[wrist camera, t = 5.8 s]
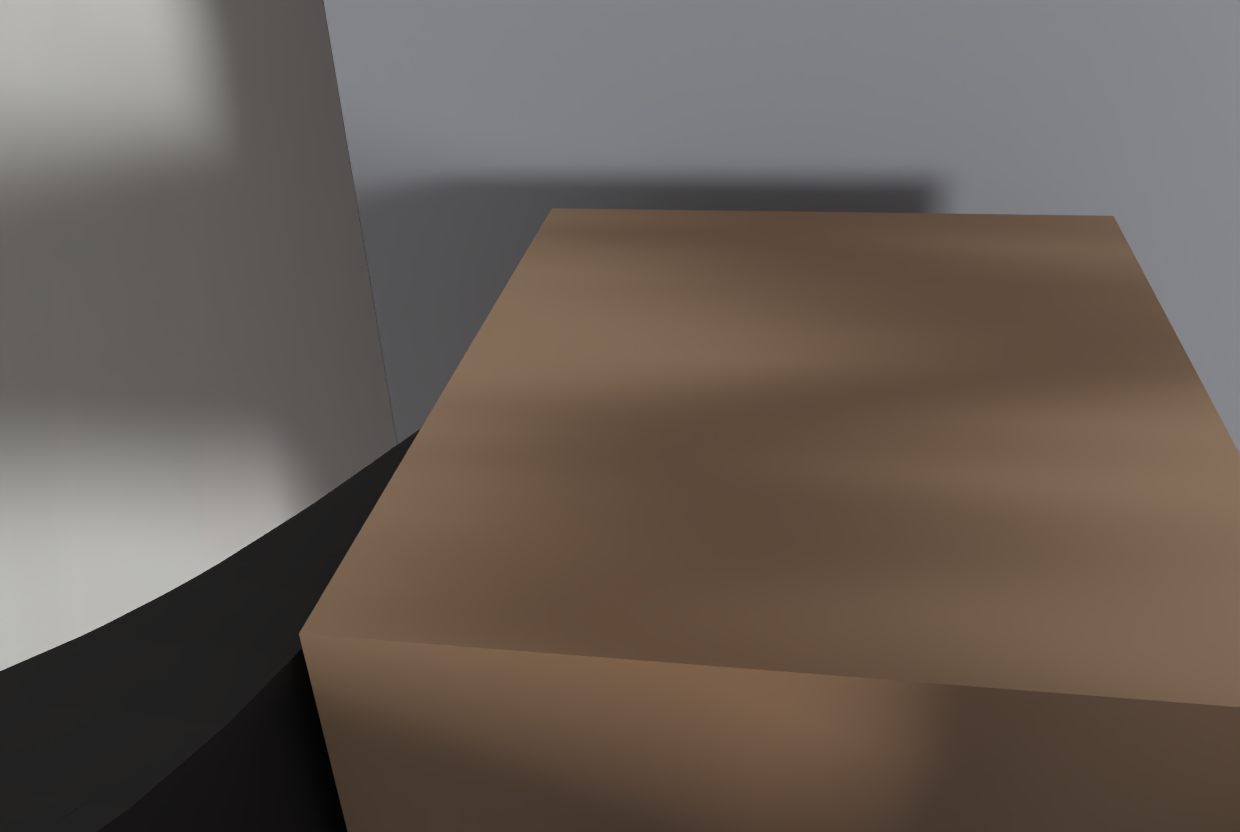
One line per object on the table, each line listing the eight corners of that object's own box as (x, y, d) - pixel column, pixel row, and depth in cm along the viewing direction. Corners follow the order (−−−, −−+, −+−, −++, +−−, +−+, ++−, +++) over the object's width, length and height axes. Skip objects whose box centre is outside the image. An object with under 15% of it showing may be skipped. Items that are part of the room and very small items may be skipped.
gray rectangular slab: (1358, -301, 12) (1504, -309, 9) (1143, 637, 18) (1193, 792, 15) (392, -249, 13) (283, -242, 11) (497, 592, 19) (444, 725, 17)
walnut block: (1113, 215, 10) (1379, 717, 5) (1036, 651, 13) (1163, 1275, 8) (551, 208, 11) (297, 633, 6) (585, 619, 14) (429, 1164, 8)
